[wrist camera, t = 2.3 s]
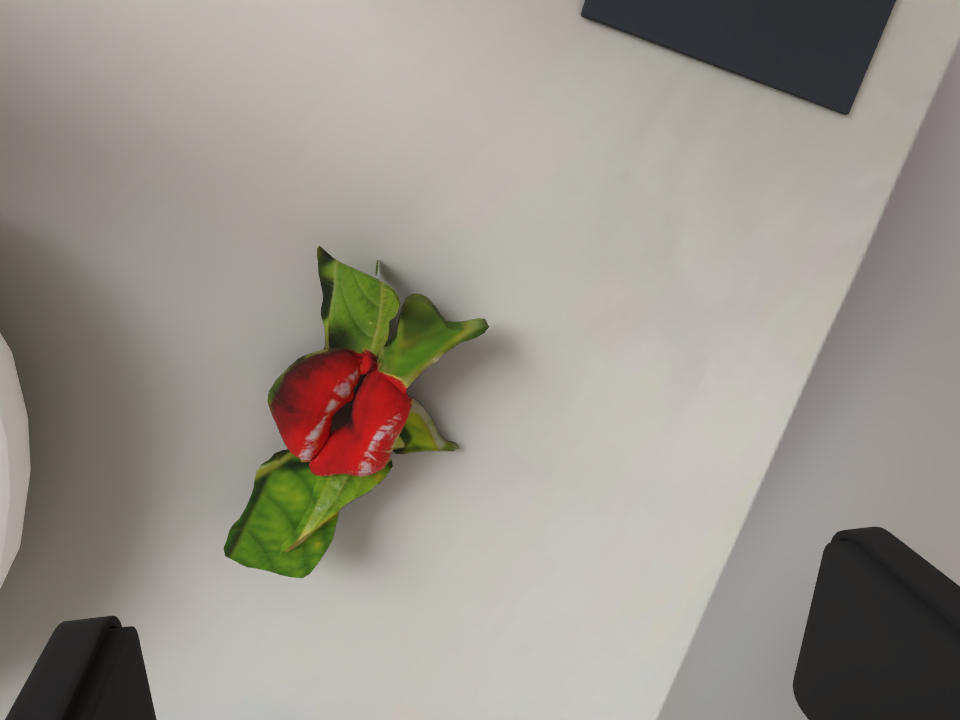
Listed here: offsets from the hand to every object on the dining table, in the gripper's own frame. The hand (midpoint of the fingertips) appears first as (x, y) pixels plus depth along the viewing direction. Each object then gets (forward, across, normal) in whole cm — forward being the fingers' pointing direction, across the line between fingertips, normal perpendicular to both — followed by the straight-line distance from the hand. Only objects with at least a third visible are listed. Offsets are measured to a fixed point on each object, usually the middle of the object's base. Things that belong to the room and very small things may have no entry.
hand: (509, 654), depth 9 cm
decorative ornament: (+23, +2, +7) cm, 24 cm away
